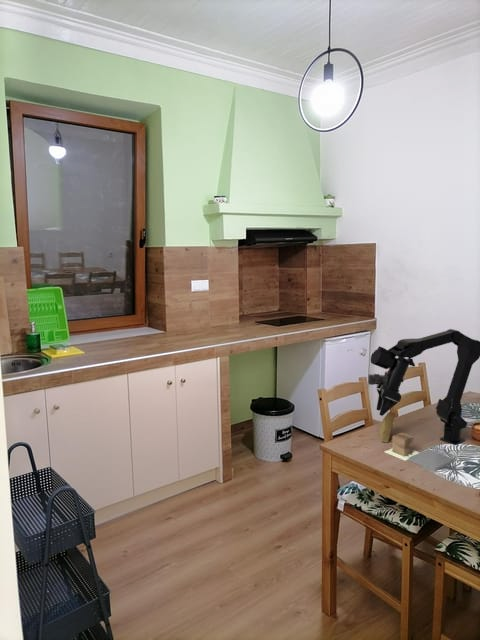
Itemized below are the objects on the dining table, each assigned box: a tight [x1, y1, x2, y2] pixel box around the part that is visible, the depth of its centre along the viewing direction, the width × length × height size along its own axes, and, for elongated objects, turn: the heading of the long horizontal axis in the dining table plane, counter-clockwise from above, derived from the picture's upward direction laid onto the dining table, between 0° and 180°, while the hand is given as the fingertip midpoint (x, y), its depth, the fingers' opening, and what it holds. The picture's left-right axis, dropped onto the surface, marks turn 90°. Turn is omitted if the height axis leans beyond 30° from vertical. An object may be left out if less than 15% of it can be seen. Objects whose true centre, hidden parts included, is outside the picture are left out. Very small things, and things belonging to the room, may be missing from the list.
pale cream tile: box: [384, 447, 421, 462], centre depth 164 cm, size 9×9×1 cm
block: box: [391, 432, 414, 457], centre depth 163 cm, size 5×5×6 cm
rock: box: [378, 411, 396, 443], centre depth 177 cm, size 11×9×10 cm
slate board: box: [408, 448, 455, 472], centre depth 157 cm, size 11×10×1 cm
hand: (379, 412), depth 166 cm, fingers open, 9 cm apart
